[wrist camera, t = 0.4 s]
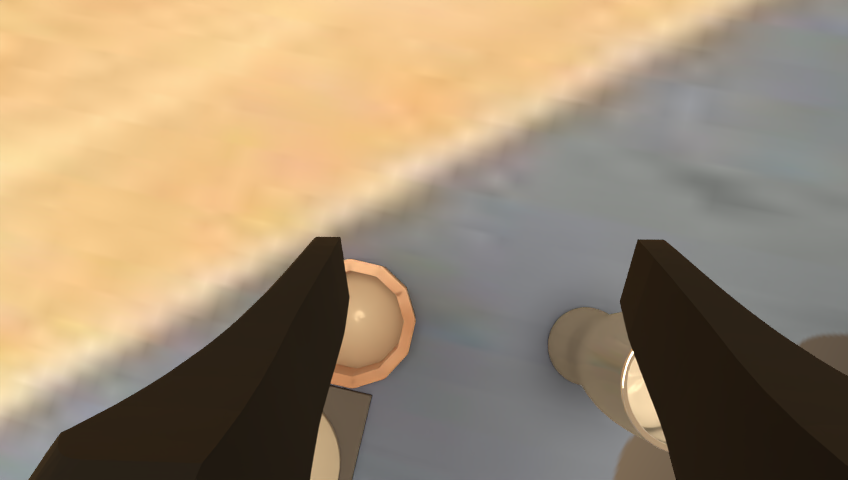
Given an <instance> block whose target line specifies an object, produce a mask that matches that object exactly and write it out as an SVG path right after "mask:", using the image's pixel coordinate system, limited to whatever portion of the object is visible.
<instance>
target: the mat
mask: <svg viewBox="0 0 848 480" xmlns="http://www.w3.org/2000/svg"><path fill="white" fill-rule="evenodd" d="M371 397H372V395H370V394H365V393H361V392H357V391H353V390H348V389H344V388H340V387H336V386H331V385H330V387H329V391H328V394H327V398H326V401H325V405H324V408H323V413H324V414H325V415H326V417H327V418H328V420H329V421H330V423H331V425H332V427H333V429H334V431H335V433H336V436H337V439H338V443H339V448H340V458H341V461H340V472H339V478H338V480H352V476H353V472H354V468H355V464H356V460H357V455H358V451H359V447H360V443H361V439H362V434H363V430H364V426H365V422H366V418H367V413H368V409H369V405H370V401H371Z"/></svg>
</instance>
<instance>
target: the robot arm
mask: <svg viewBox="0 0 848 480" xmlns="http://www.w3.org/2000/svg"><path fill="white" fill-rule="evenodd" d="M349 299H350V296H349V290H348V283H347V277H346V271H345V264H344V258H343V251H342V245H341V238H340V237H316V238H314V239H313V240H312V242H311V243H310V244H309V245H308V246H307V247H306V248H305V250H304V251H303V252H302V253H301V254H300V255H299V257H298V258H297V259H296V260H295V261H294V262H293V263H292V265H291V266H290V267H289V268H288V269H287V270H286V271H285V272H284V274H283V275H282V276H281V277H280V278H279V279H278V280H277V281H276V282H275V283H274V284H273V285H272V286H271V288H270V289H269V290H268V291H267V292H266V293H265V294H264V295H263V296H262V297H261V298H260V299H259V300H258V301H257V302H256V303H255V304H254V305H253V306H252V307H251V308H250V309H249V310H247V311H246V312H245V313H244V314H243V315H242V316H241V317H240V318H239V319H238V320H237V321H236V322H235V323H233V324H232V325H231V326H230V327H229V328H228V329H227V330H225V331H224V332H223V333H222V334H221V335H219V336H218V337H217V338H216V339H214V340H213V341H212V342H211V343H209V344H208V345H207V346H206V347H204V348H203V349H201V350H200V351H199V352H197V353H196V354H194V355H193V356H192V357H190V358H189V359H187V360H186V361H184V362H183V363H182V364H180V365H179V366H177V367H176V368H175V369H173V370H172V371H170V372H169V373H167V374H166V375H164V376H163V377H161V378H159V379H158V380H156V381H155V382H153V383H151V384H150V385H148V386H147V387H145V388H143V389H142V390H140V391H138V392H137V393H135V394H133V395H131V396H130V397H128V398H126V399H125V400H123V401H121V402H119V403H117V404H116V405H114V406H112V407H110V408H108V409H106V410H104V411H102V412H101V413H99V414H97V415H95V416H93V417H91V418H89V419H87V420H85V421H83V422H81V423H79V424H77V425H76V426H74V427H72V428H70V429H68V430H65V431H63V432H61V433H60V435H59V436H58V437H57V439H56V440H55V441H54V443H53V444H52V446H51V447H50V448H49V450H48V451H47V453H46V454H45V456H44V457H43V459H42V460H41V462H40V463H39V465H38V466H37V468H36V469H35V471H34V472H33V474H32V475H31V477H30V478H29V480H310V477H311V470H312V464H313V458H314V453H315V447H316V441H317V435H318V430H319V425H320V421H321V417H322V412H323V408H324V405H325V401H326V398H327V394H328V391H329V387H330V384H331V380H332V377H333V373H334V370H335V366H336V363H337V359H338V355H339V352H340V348H341V344H342V341H343V337H344V333H345V327H346V321H347V314H348V306H349ZM620 304H621V309H622V314H623V318H624V323H625V327H626V331H627V335H628V339H629V342H630V345H631V348H632V350H633V353H634V356H635V358H636V361H637V364H638V366H639V369H640V372H641V374H642V377H643V379H644V382H645V385H646V387H647V390H648V392H649V395H650V398H651V400H652V403H653V405H654V408H655V411H656V413H657V416H658V419H659V421H660V424H661V427H662V430H663V433H664V436H665V440H666V444H667V447H668V451H669V455H670V459H671V463H672V466H673V470H674V474H675V477H676V480H848V376H847V375H845V374H843V373H841V372H840V371H838V370H836V369H834V368H833V367H831V366H829V365H828V364H826V363H824V362H823V361H821V360H819V359H818V358H816V357H815V356H813V355H812V354H810V353H809V352H807V351H805V350H804V349H802V348H801V347H799V346H798V345H796V344H795V343H793V342H792V341H790V340H789V339H787V338H786V337H784V336H783V335H781V334H780V333H778V332H777V331H776V330H774V329H773V328H771V327H770V326H769V325H767V324H766V323H765V322H763V321H762V320H761V319H759V318H758V317H757V316H755V315H754V314H753V313H751V312H750V311H749V310H747V309H746V308H745V307H744V306H742V305H741V304H740V303H738V302H737V301H736V300H735V299H733V298H732V297H731V296H730V295H729V294H727V293H726V292H725V291H724V290H722V289H721V288H720V287H719V286H718V285H716V284H715V283H714V282H713V281H712V280H711V279H709V278H708V277H707V276H706V275H705V274H704V273H702V272H701V271H700V270H699V269H698V268H697V267H696V266H694V265H693V264H692V263H691V262H690V261H689V260H687V259H686V258H685V257H684V256H683V255H682V254H681V253H679V252H678V251H677V250H676V249H675V248H673V247H672V246H671V245H670V244H669V243H667V242H666V241H665V240H638V241H637V244H636V247H635V251H634V254H633V258H632V261H631V265H630V268H629V272H628V275H627V279H626V282H625V286H624V289H623V293H622V296H621V300H620Z"/></svg>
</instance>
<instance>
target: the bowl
mask: <svg viewBox="0 0 848 480" xmlns="http://www.w3.org/2000/svg"><path fill="white" fill-rule="evenodd" d="M344 264H345V271H346V277H347V283H348V290H349V296H350V299H349V306H348V314H347V321H346V327H345V333H344V337H343V341H342V344H341V348H340V352H339V355H338V359H337V363H336V366H335V370H334V373H333V377H332V380H331V384H335V385H339V386H344V387H348V388H356V387H359V386H363V385H366V384H369V383H372V382H376V381H379V380H382V379H385V378H386V377H387V376H388V375H389V374H390V373H391V372H392V370H393V369H394V368H395V367H396V366H397V365H398V364H399V363H400V362H401V361H402V360H403V359H404V358H405V356H406V355H407V354H408V351H409V347H410V343H411V339H412V334H413V330H414V326H415V322H416V320H415V313H414V310H413V306H412V303H411V300H410V296H409V293H408V290H407V287H406V286H405V285H404V284H403V283H402V282H401V281H399V280H398V279H397V278H396V277H395V276H394V275H393V274H392V273H391V272H390V271H389V270H388V269H387V268H386V267H383V266H379V265H375V264H370V263H366V262H362V261H358V260H353V259H347V260H344Z"/></svg>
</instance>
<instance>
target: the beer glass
mask: <svg viewBox="0 0 848 480" xmlns="http://www.w3.org/2000/svg"><path fill="white" fill-rule="evenodd" d="M548 352H549V356H550V359H551V362H552V364H553V366H554V367H555V369H556V370H557V371H558V372H559V374H560V375H562V376H563V377H564V378H565V379H567V380H568V381H570V382H572V383H575V384H578V385H582V387H583V389H584V390H585V392H586V393H587V395H588V396H589V398H590V399H591V400H592V401H593V403H594V404H595V405H596V406H597V407H598V408H599V409H600V410H601V411H602V412H603V413H604V414H605V415H606V416H608V417H609V418H610V419H611V420H612V421H614V422H615V423H616V424H618V425H619V426H621V427H623V428H624V429H626V430H627V431H629V432H631V433H632V434H634V435H636V436H638V437H640V438H642V439H644V440H646V441H648V442H649V443H651V444H652V445H654V446H655V447H657V448H659V449H661V450H664V451H667V452H669V451H668V447H667V444H666V440H665V436H664V433H663V430H662V427H661V424H660V421H659V419H658V416H657V413H656V411H655V408H654V405H653V403H652V400H651V398H650V395H649V392H648V390H647V387H646V385H645V382H644V379H643V377H642V374H641V372H640V369H639V366H638V364H637V361H636V358H635V356H634V353H633V350H632V348H631V345H630V342H629V339H628V335H627V331H626V327H625V323H624V318H623V314H622V312H618V313H614V314H610V315H609V314H607V313H606V312H604V311H601V310H599V309H595V308H590V307H580V308H576V309H573V310H570V311H568V312H566V313H565V314H563V315H562V316H561V317H560V318H559V319H558V320H557V321H556V322H555V324H554V325H553V327H552V329H551V331H550V334H549V339H548Z"/></svg>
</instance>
